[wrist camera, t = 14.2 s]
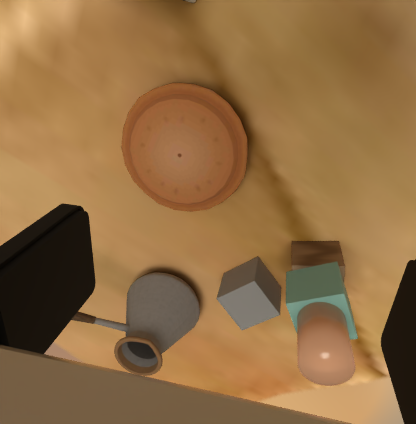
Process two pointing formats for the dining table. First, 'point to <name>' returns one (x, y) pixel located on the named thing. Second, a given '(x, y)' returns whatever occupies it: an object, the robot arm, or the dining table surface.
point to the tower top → (318, 291)
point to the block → (250, 294)
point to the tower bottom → (316, 254)
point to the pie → (185, 146)
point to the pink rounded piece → (324, 344)
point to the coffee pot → (151, 321)
